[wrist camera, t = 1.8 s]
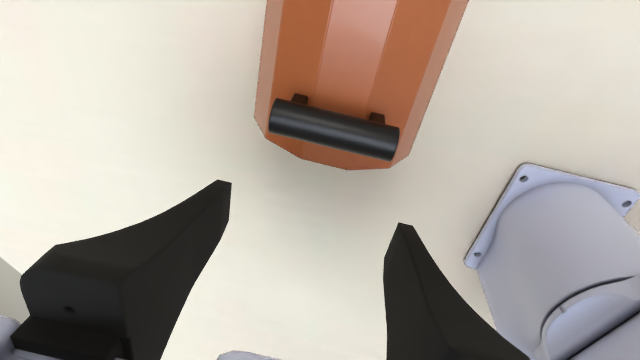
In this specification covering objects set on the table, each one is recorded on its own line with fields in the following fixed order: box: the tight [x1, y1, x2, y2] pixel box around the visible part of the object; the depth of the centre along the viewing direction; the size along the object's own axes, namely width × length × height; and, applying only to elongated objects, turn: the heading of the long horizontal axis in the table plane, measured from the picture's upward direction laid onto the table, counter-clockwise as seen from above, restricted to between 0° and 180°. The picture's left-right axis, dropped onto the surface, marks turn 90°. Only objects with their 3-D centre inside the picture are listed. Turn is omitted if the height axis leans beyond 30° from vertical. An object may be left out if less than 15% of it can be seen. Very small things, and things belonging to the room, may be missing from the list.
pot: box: [254, 0, 469, 170], centre depth 16 cm, size 10×8×8 cm
